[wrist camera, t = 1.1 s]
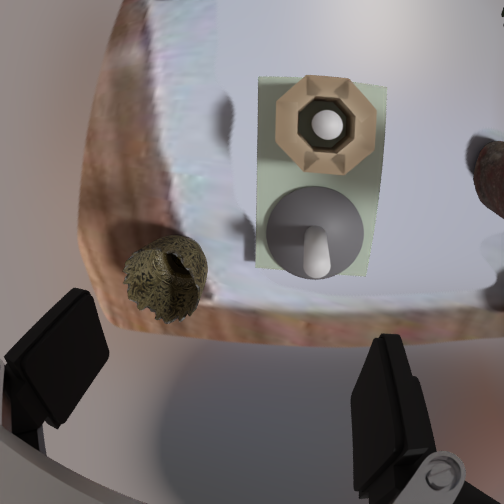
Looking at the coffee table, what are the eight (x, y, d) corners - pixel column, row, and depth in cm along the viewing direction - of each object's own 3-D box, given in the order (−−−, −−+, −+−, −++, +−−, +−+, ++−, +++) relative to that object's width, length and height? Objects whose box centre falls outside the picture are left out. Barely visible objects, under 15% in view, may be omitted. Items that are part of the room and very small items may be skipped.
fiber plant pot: (148, 256, 34) (112, 292, 27) (174, 205, 31) (137, 233, 23) (202, 292, 35) (177, 336, 27) (235, 245, 31) (213, 284, 24)
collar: (281, 82, 23) (276, 73, 18) (364, 89, 22) (377, 82, 17) (280, 161, 26) (274, 170, 21) (360, 167, 25) (371, 178, 20)
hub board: (260, 78, 24) (243, 63, 17) (382, 88, 22) (411, 78, 15) (257, 265, 32) (242, 309, 25) (362, 273, 30) (376, 320, 23)
